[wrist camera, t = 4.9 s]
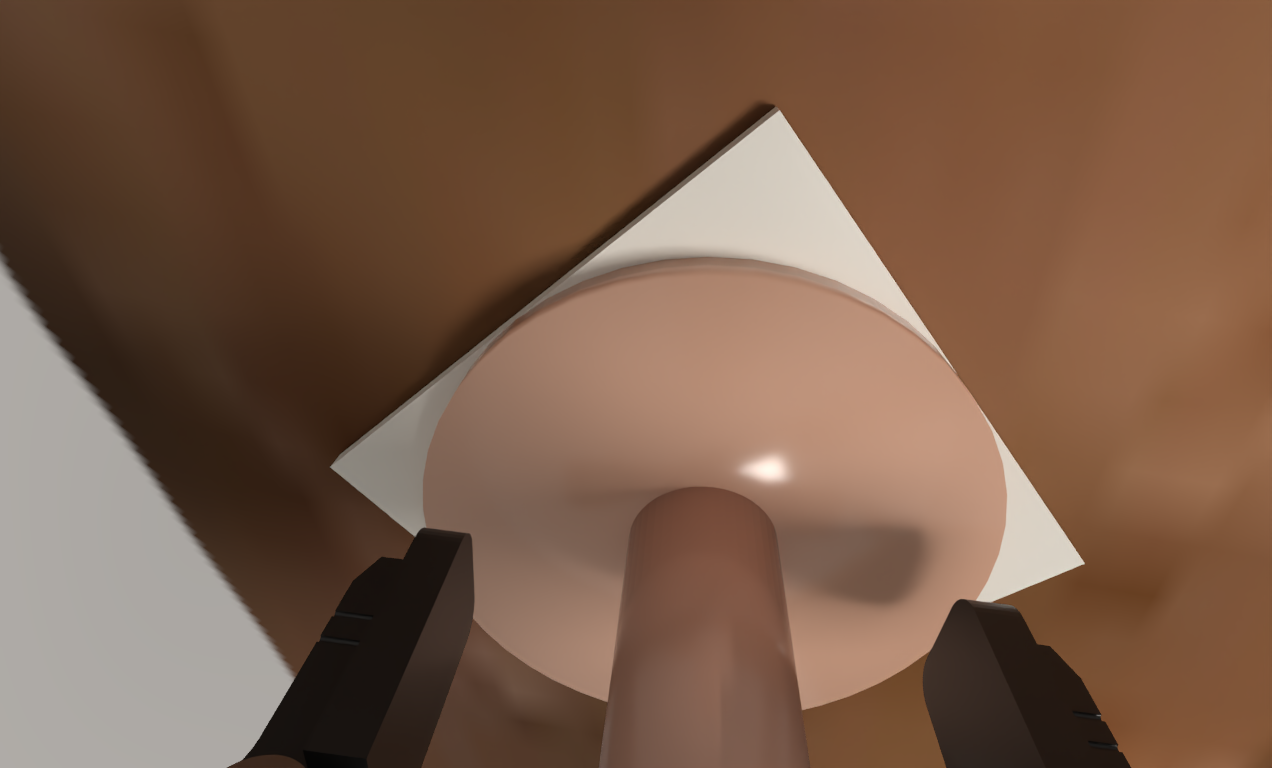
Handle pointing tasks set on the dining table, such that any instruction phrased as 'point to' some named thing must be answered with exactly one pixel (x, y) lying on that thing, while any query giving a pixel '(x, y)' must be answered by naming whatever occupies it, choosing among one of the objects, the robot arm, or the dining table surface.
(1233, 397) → the dining table surface
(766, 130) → the mat
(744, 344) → the lid
